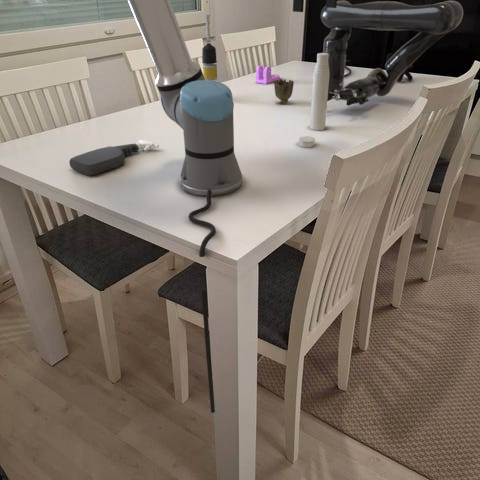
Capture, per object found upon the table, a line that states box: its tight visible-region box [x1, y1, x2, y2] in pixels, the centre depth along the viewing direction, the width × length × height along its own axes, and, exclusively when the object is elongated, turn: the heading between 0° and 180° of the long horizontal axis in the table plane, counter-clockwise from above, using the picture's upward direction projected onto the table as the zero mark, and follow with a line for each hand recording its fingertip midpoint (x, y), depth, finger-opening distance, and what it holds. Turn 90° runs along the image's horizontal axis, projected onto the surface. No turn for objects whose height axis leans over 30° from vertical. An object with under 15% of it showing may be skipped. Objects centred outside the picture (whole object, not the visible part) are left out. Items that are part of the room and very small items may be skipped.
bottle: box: [309, 52, 330, 131], centre depth 140 cm, size 5×5×23 cm
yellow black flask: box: [201, 14, 218, 82], centre depth 171 cm, size 6×6×30 cm
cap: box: [298, 135, 316, 148], centre depth 132 cm, size 4×4×2 cm
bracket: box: [255, 65, 281, 85], centre depth 202 cm, size 13×6×7 cm, turn 143°
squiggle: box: [385, 52, 414, 83], centre depth 198 cm, size 11×10×15 cm
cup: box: [273, 78, 295, 105], centre depth 169 cm, size 8×7×8 cm
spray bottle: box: [68, 139, 160, 177], centre depth 124 cm, size 3×11×24 cm
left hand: (315, 9), depth 114 cm, fingers open, 13 cm apart
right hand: (336, 100), depth 150 cm, fingers open, 8 cm apart
